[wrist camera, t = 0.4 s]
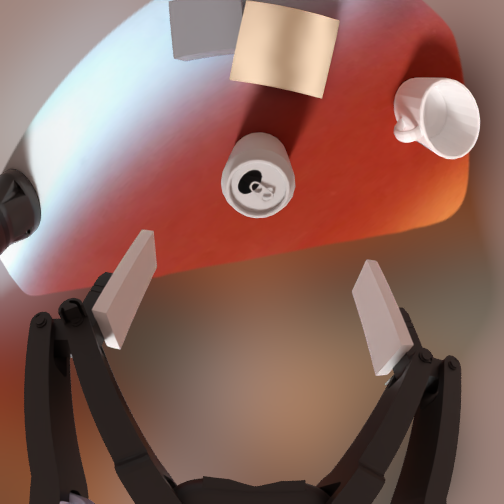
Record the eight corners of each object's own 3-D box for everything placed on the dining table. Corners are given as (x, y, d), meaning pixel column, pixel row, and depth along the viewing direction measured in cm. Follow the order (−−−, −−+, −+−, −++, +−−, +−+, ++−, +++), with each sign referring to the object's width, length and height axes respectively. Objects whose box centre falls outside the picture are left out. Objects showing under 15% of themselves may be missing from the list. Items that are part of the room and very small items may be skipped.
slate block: (185, 61, 27) (173, 58, 23) (180, 10, 23) (168, 1, 19) (247, 52, 27) (245, 47, 23) (242, 0, 22) (239, -12, 18)
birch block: (234, 80, 29) (229, 79, 24) (249, 13, 23) (246, 0, 18) (312, 96, 30) (321, 98, 25) (327, 30, 24) (339, 20, 19)
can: (254, 120, 32) (251, 136, 22) (298, 154, 35) (313, 186, 25) (220, 161, 36) (203, 196, 26) (263, 192, 38) (263, 237, 28)
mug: (434, 68, 24) (467, 71, 18) (454, 131, 30) (486, 145, 23) (362, 93, 29) (387, 97, 22) (389, 159, 34) (415, 179, 27)
